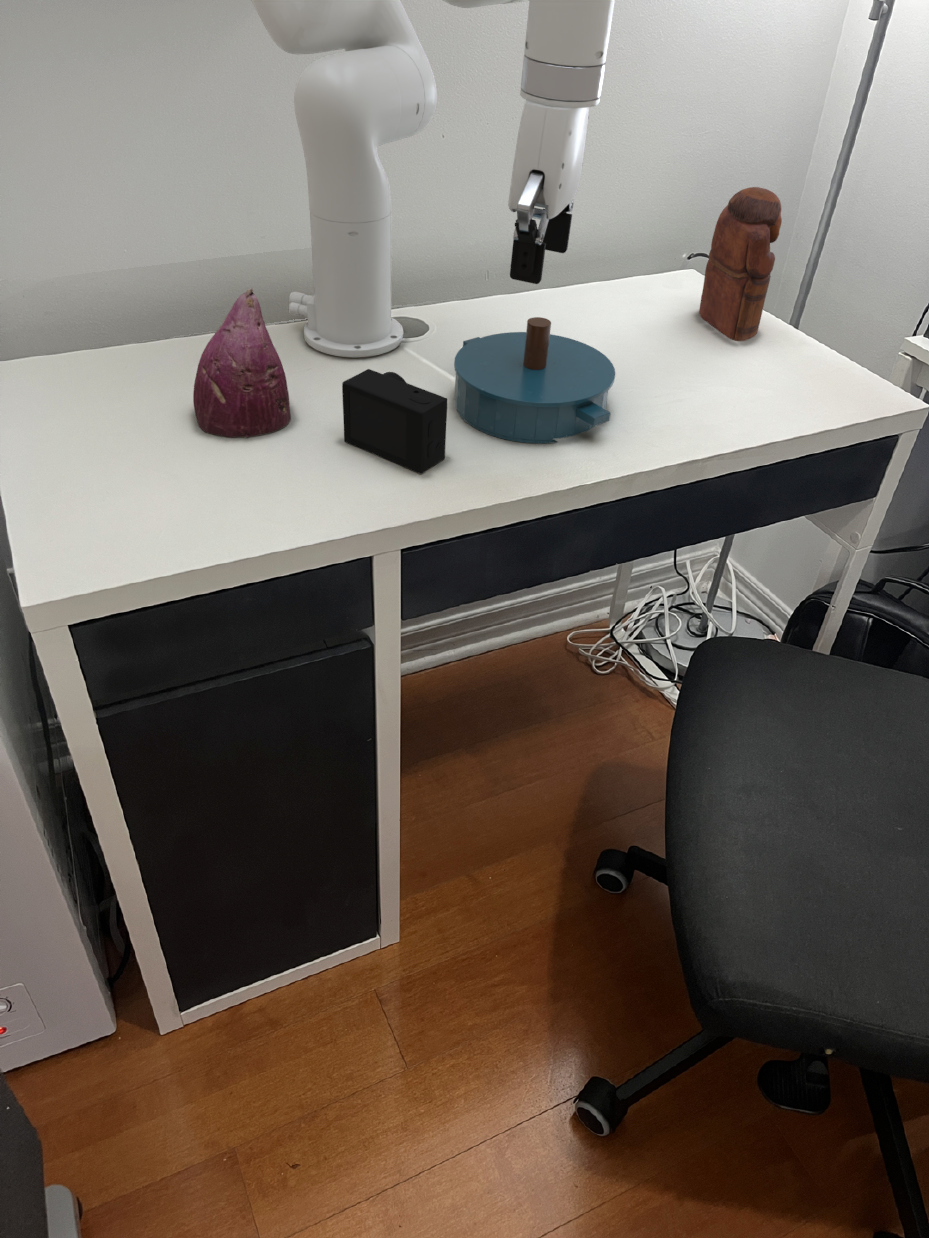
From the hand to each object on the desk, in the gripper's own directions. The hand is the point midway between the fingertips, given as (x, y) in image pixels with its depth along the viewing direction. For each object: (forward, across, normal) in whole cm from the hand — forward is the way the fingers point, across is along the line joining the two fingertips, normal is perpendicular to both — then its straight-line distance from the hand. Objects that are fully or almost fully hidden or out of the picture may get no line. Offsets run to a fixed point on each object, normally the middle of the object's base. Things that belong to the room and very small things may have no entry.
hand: (539, 265), depth 99 cm
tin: (+16, 0, +1) cm, 16 cm away
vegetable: (+17, +16, -27) cm, 36 cm away
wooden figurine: (+16, -34, +19) cm, 42 cm away
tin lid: (+11, 0, +1) cm, 11 cm away
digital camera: (+16, +16, -9) cm, 24 cm away
